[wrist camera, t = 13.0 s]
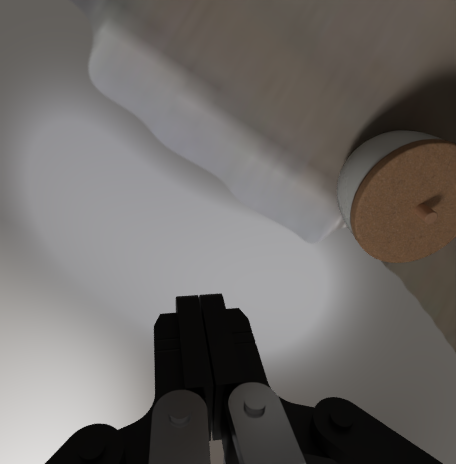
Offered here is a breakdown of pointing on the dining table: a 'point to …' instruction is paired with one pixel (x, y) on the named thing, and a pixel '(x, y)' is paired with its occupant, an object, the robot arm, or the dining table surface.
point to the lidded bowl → (400, 195)
